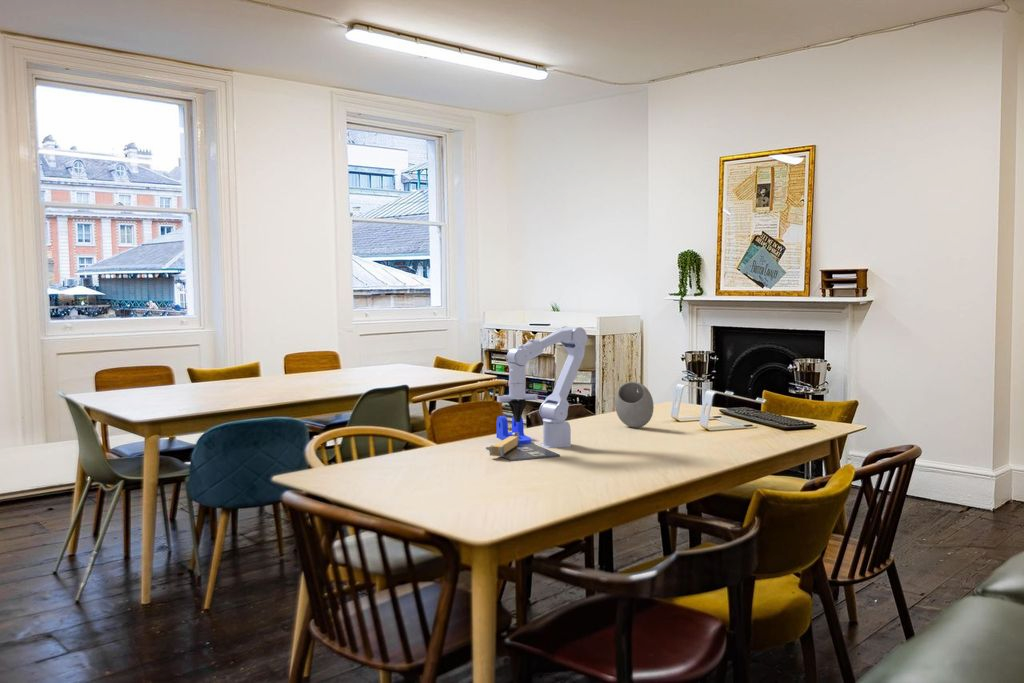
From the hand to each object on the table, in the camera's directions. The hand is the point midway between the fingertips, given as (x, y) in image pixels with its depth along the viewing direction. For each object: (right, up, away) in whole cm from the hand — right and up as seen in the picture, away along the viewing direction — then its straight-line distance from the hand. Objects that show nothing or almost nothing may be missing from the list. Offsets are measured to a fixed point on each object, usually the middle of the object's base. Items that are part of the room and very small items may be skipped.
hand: (517, 421), depth 288 cm
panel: (+2, -11, -4) cm, 12 cm away
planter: (+48, -7, +47) cm, 67 cm away
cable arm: (-4, -9, -6) cm, 12 cm away
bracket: (-1, -10, +19) cm, 21 cm away
